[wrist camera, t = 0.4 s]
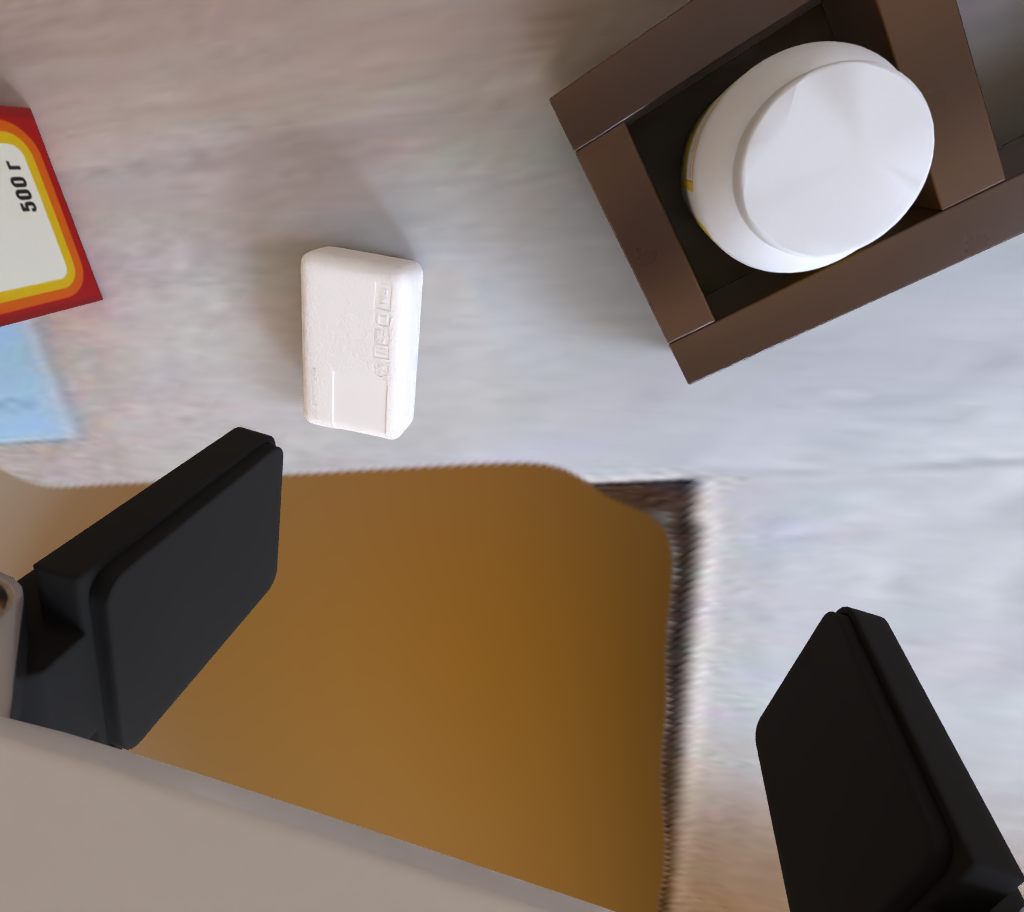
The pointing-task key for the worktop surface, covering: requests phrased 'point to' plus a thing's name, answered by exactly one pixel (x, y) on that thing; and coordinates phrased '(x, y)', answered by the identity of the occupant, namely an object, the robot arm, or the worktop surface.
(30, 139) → the baking soda box
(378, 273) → the soap
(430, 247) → the worktop surface
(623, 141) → the brown divided wooden tray
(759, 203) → the pill bottle
